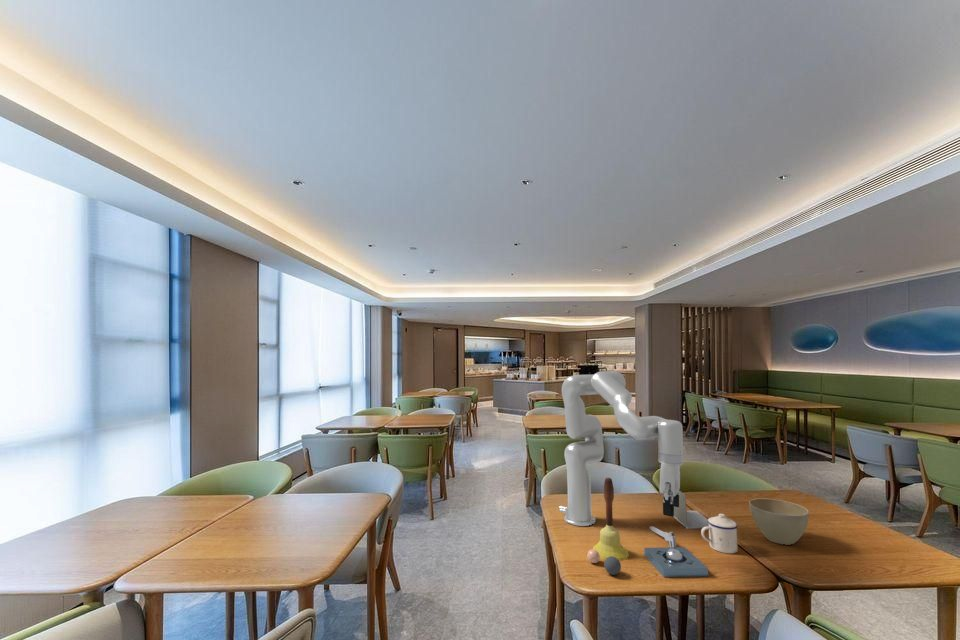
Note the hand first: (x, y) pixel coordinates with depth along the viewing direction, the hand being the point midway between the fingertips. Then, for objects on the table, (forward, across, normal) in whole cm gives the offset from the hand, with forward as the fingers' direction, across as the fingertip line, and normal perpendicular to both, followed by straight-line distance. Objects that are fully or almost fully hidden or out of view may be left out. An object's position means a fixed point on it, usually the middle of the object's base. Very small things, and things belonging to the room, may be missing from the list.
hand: (671, 510), depth 138 cm
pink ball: (+15, +13, -22) cm, 30 cm away
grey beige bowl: (+17, -42, +30) cm, 54 cm away
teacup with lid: (+17, -22, +12) cm, 30 cm away
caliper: (+18, -18, -6) cm, 26 cm away
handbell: (+18, +3, -19) cm, 26 cm away
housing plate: (+17, 0, +1) cm, 17 cm away
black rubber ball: (+15, +17, -14) cm, 27 cm away
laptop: (+18, -44, 0) cm, 48 cm away
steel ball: (+14, 0, +1) cm, 15 cm away
